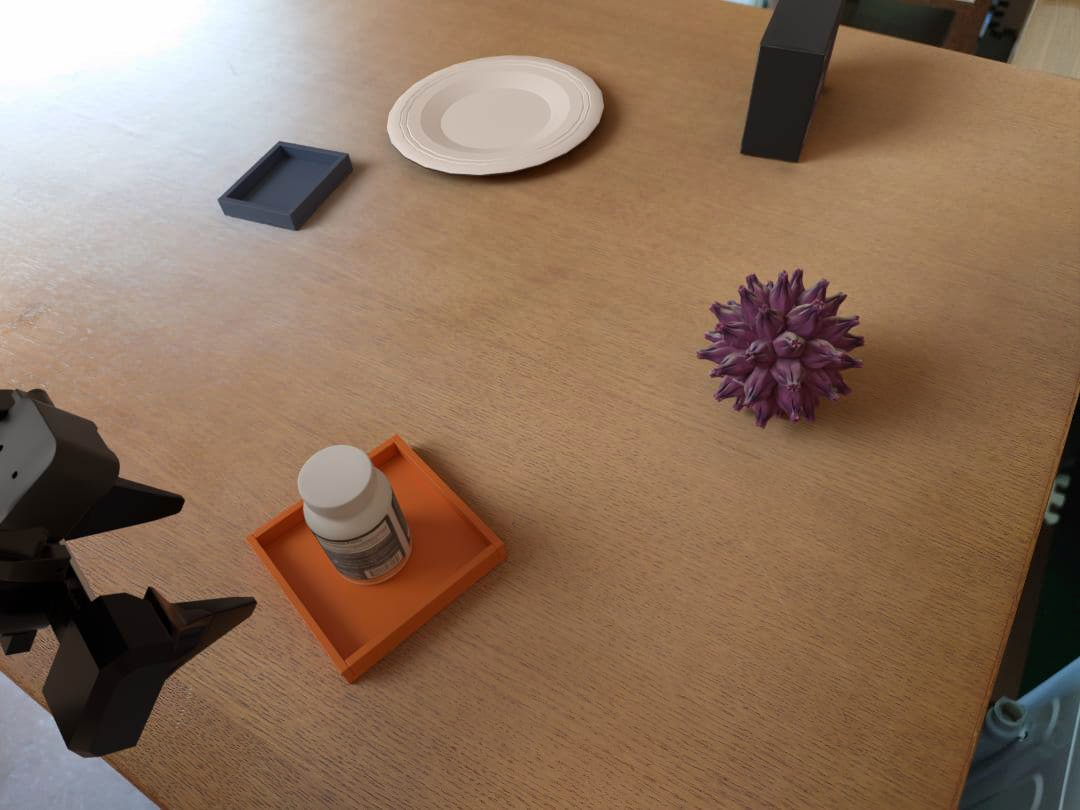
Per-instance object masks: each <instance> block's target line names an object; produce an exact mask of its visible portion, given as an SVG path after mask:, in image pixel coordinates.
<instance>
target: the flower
mask: <svg viewBox="0 0 1080 810" xmlns="http://www.w3.org/2000/svg"><path fill="white" fill-rule="evenodd" d="M803 278H804V268H802V269H800V268H796V269H794V270H793V272H792V275H791V276H790V278H789V273H788V272H787V270H786V269H784V270H782V271H781V272H778V275H777V282H775V284H774V281H773V280H771V279H768V280H765V281H764V283H763V282H761V281H760V279H758V277H757V275H756V273H755V272H752V273H749V274H746V276H744V279H745V281H746V286H745V285H743V284H740V285H739V286H738V289H737V292H738V294H739V296H740V300H739V301H740V302H737V301H735V300H734V299H730V300H729V299H728V300H727V301H726V303H721V302H719V301H717V300H713V301H712V303H711V304H710V306H709V307H708V310H709V311H710V312H711V313H713V314H714V315H715V318H716V319H717V320H718V322H717V323H715V326H714V330H706V331H705V332H704V337H703V338H704V340H708V341H710V342H712V344H711V345H708V346H707V347H705V348H700V349H697V350H696V354H697V355H696V358H697V359H698V360H706V361H710V362H712V363H715V364H716V365H717V366H715V367H713V368H712V370H710V371H708V376H709V378H710V379H714V378H721V381H720V384H719V386H718V389H717V390H716V391H715V392H714V393H713V395H712V397H713V398H714V400H716V401H717V403H721V402H723V401H724V400H725V399H732V398H735V400H734V403H733V404H732V408H733V411H737V413H738V412H740V411H741V410H742V409H743V408H745V409H749V410H752V411H753V413H754V415H755V427H759V428H761V429H762V430H765V428H766V427H767V424H768V422H769V420H770V419H772V418H773V416H775V418H776V419H779V420H782V419H784V418H786V414H787V415H788V418H789V420H790V423H796V424H797V423H798V422H801V421H802V420H801V419H802V418H801V416H802V417H803V418H804V420H805V421H806V423H807V424H811V423H812V424H815V423H816V422H817V417H816V414H815V408H817V407H820V405H821V401H820V399H819V397H820V398H824V399H828V400H829V401H830V402H832V403H833V404H836V402H838V400H839V399H841V398H840V396H839V395H841V396H844V397H848V396H849V394H851V393H852V392H853V389H852V388H851V387H850V386H849V385H848V384H847V383H846V382H845V379H844V376H843V375H842V373H841V372H842V371H843V372H844V371H847V370H849V369H864V366H863V365H864V360H863V359H859V358H856V357H854V356H852V355H850V352H852V351H853V350H854V349H856V348H862V347H864V346H865V342H866V341H865V336H863V335H855V334H853V333H851V332H849V331H851V330H852V329H853V328H855V327H857V326H859V325H860V324H861V322H860V318H861V317H860V315H857V314H856V315H852V316H848V317H842V316H838V315H837V314H838V310H839V308H840V306H841V305H842V304H843V302H844V301H846V299H847V297H848V296H849V295H848V294H846V293H843V291H838V292H836V293H835V294H834V295H831V296H827V289H828V287H829V285H830V284H831V283H830V282H831V281H830V280H827V278H824V277H821V278H820V279H819V280H818V281H817V283H816V284H814V285H813V286H811V287H809V288H808V289H807V288H805V286H804V282H803V281H804V279H803Z"/></svg>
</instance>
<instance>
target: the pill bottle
mask: <svg viewBox="0 0 1080 810" xmlns="http://www.w3.org/2000/svg"><path fill="white" fill-rule="evenodd" d="M367 454H368V453H366V452H365V451H364V450H363V449H361V448H359V447H357V446H354V445H350V444H335V445H330V446H327V447H325V448H322V449H320V450H319V451H316V453H314V454H313V455H311V456H310V457H309V458H308V459H307V460H306V461H305V462H304V464H303V466H302V467H301V469H300V471H299V474H298V477H297V489H298V493H299V495H300V497H301V499H303V501H304V505H303V510H304V517H305V520H306V523H307V525H308V527H309V529H310V530H311V532H312V533H313V534H314V536H315V537H316V539H317V541H318V542H319V544H320V546H321V547H322V549H323V550H324V552H325V553H326V555H327V556H328V558H329V559H330V561H331V562H332V564H333V566H334V567H335V568H336V570H337V571H338V572H339V574H340V575H341V576H342V577H344V578H345V579H346V580H348V581H350V582H352V583H355V584H360V585H372V584H378V583H381V582H383V581H386V580H388V579H390V578H391V577H393V576H394V575H395V574H397V573H398V572H399V571H400V570H401V569H402V567H403V566H404V565H405V564H406V562H407V561H408V559H409V556H410V553H411V549H412V536H411V532H410V529H409V527H408V524H407V522H406V520H405V517H404V515H403V513H402V510H401V508H400V505H399V503H398V501H397V498H396V496H395V494H394V491H393V489H392V487H391V484H390V482H389V480H388V478H387V477H386V476H385V475H384V474H383V473H382V472H381V471H380V470H379V469H377V468H376V467H374V465H373V463H372V462H371V460H370V458H369V456H368V455H367Z"/></svg>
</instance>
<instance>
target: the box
mask: <svg viewBox="0 0 1080 810" xmlns="http://www.w3.org/2000/svg"><path fill="white" fill-rule="evenodd" d="M845 4H846V0H778V1H777V3H776V6H775V7H774V10H773V12H772V14H771V17H770V18H769V21H768V24H767V26H766V28H765V31H764V33H763V34H762V36H761V37H762V38H761V40H760V42H759V44H758V49H757V55H756V64H755V68H754V73H753V80H752V85H751V89H750V95H749V102H748V108H747V113H746V118H745V122H744V129H743V133H742V138H741V141H740V148H739V154H742V155H746V156H747V155H748V156H755V157H762V158H767V159H774V160H781V161H785V162H791V163H798V162H799V160H800V158H801V155H802V151H803V148H804V145H805V143H806V139H807V136H808V132H809V130H810V127H811V124H812V120H813V117H814V114H815V112H816V108H817V106H818V103H819V99H820V97H821V93H822V89H823V87H824V84H825V81H826V77H827V73H828V69H829V66H830V62H831V59H832V55H833V51H834V47H835V44H836V39H837V37H838V32H839V27H840V24H841V20H842V16H843V12H844V8H845Z"/></svg>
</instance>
